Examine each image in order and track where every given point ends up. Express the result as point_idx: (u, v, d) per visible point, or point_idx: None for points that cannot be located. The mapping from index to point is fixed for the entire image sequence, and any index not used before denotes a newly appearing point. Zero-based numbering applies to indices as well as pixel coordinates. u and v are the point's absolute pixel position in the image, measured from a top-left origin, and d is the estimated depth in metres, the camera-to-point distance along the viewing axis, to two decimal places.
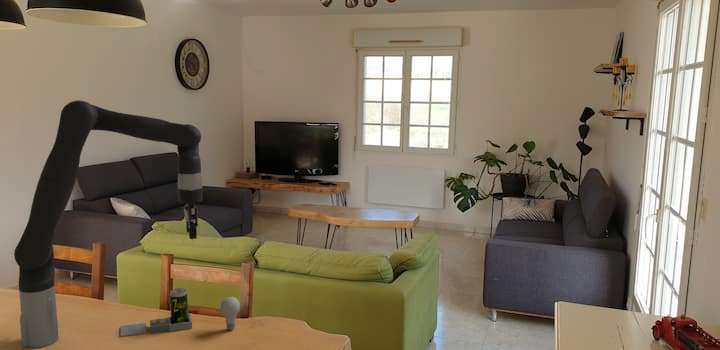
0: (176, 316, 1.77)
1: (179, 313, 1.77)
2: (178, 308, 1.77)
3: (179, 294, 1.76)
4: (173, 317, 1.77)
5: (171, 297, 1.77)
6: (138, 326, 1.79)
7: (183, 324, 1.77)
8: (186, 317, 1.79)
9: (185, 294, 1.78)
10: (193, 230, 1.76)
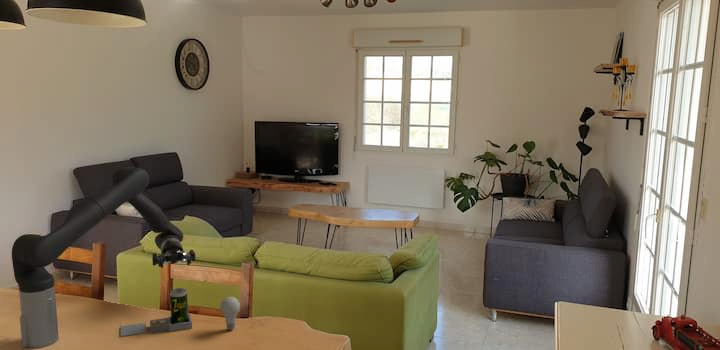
0: (176, 316, 1.77)
1: (179, 313, 1.77)
2: (178, 308, 1.77)
3: (179, 294, 1.76)
4: (173, 317, 1.77)
5: (171, 297, 1.77)
6: (138, 326, 1.79)
7: (183, 324, 1.77)
8: (186, 317, 1.79)
9: (185, 294, 1.78)
10: None
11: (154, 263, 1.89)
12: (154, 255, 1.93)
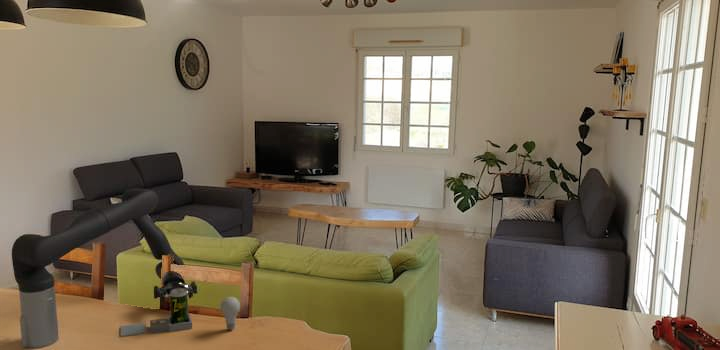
0: (176, 316, 1.77)
1: (179, 313, 1.77)
2: (178, 308, 1.77)
3: (179, 294, 1.76)
4: (173, 317, 1.77)
5: (171, 297, 1.77)
6: (138, 326, 1.79)
7: (183, 324, 1.77)
8: (186, 317, 1.79)
9: (185, 294, 1.78)
10: None
11: (155, 296, 1.87)
12: (155, 288, 1.91)
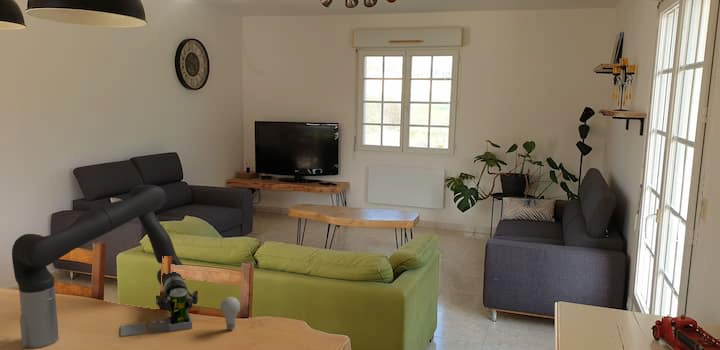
0: (176, 316, 1.77)
1: (179, 313, 1.77)
2: (178, 308, 1.77)
3: (179, 294, 1.76)
4: (173, 317, 1.77)
5: (171, 297, 1.77)
6: (138, 326, 1.79)
7: (183, 324, 1.77)
8: (186, 317, 1.79)
9: (185, 294, 1.78)
10: None
11: (161, 306, 1.79)
12: (159, 297, 1.82)
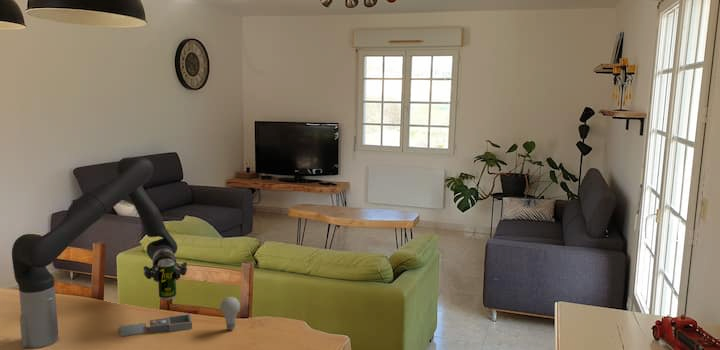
0: (163, 287, 1.74)
1: (167, 284, 1.74)
2: (165, 278, 1.74)
3: (167, 264, 1.74)
4: (161, 287, 1.75)
5: (158, 267, 1.74)
6: (138, 326, 1.79)
7: (183, 324, 1.77)
8: (174, 288, 1.76)
9: (173, 264, 1.75)
10: None
11: (149, 276, 1.76)
12: (146, 268, 1.79)
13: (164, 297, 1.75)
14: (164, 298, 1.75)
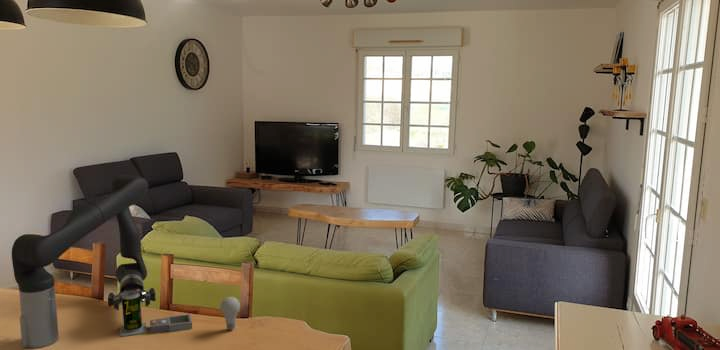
0: (128, 319, 1.73)
1: (131, 316, 1.73)
2: (130, 311, 1.73)
3: (131, 296, 1.73)
4: (125, 320, 1.74)
5: (123, 299, 1.73)
6: None
7: (183, 324, 1.77)
8: (139, 320, 1.75)
9: (137, 296, 1.74)
10: (149, 300, 1.78)
11: (110, 304, 1.75)
12: (110, 295, 1.78)
13: (129, 329, 1.74)
14: (129, 330, 1.74)
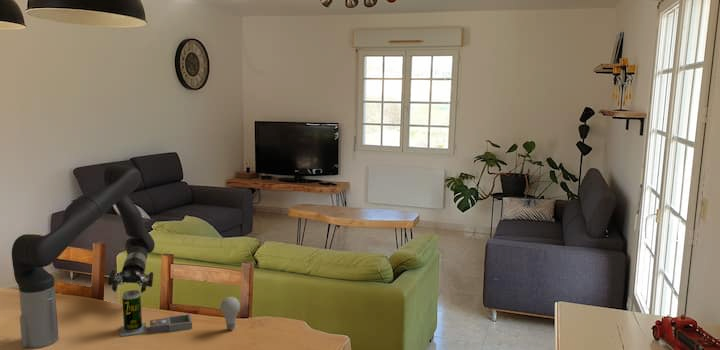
0: (128, 319, 1.73)
1: (132, 316, 1.73)
2: (130, 311, 1.73)
3: (131, 296, 1.73)
4: (125, 320, 1.74)
5: (123, 299, 1.73)
6: None
7: (183, 324, 1.77)
8: (139, 320, 1.76)
9: (138, 296, 1.74)
10: (145, 286, 1.90)
11: (109, 283, 1.88)
12: (112, 273, 1.91)
13: (129, 329, 1.74)
14: (129, 330, 1.74)
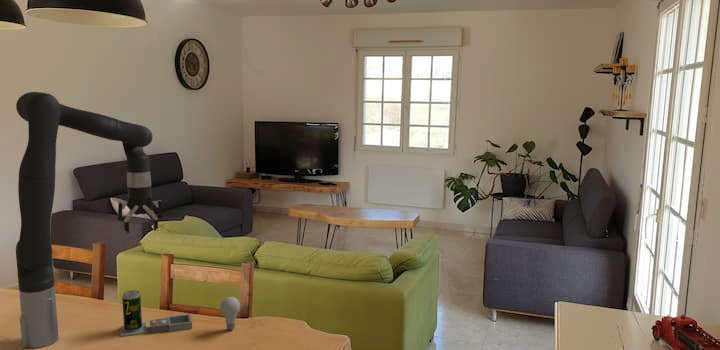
0: (128, 319, 1.73)
1: (132, 316, 1.73)
2: (130, 311, 1.73)
3: (131, 296, 1.73)
4: (125, 320, 1.74)
5: (123, 299, 1.73)
6: None
7: (183, 324, 1.77)
8: (139, 320, 1.76)
9: (138, 296, 1.74)
10: None
11: None
12: (120, 210, 1.84)
13: (129, 329, 1.74)
14: (129, 330, 1.74)
